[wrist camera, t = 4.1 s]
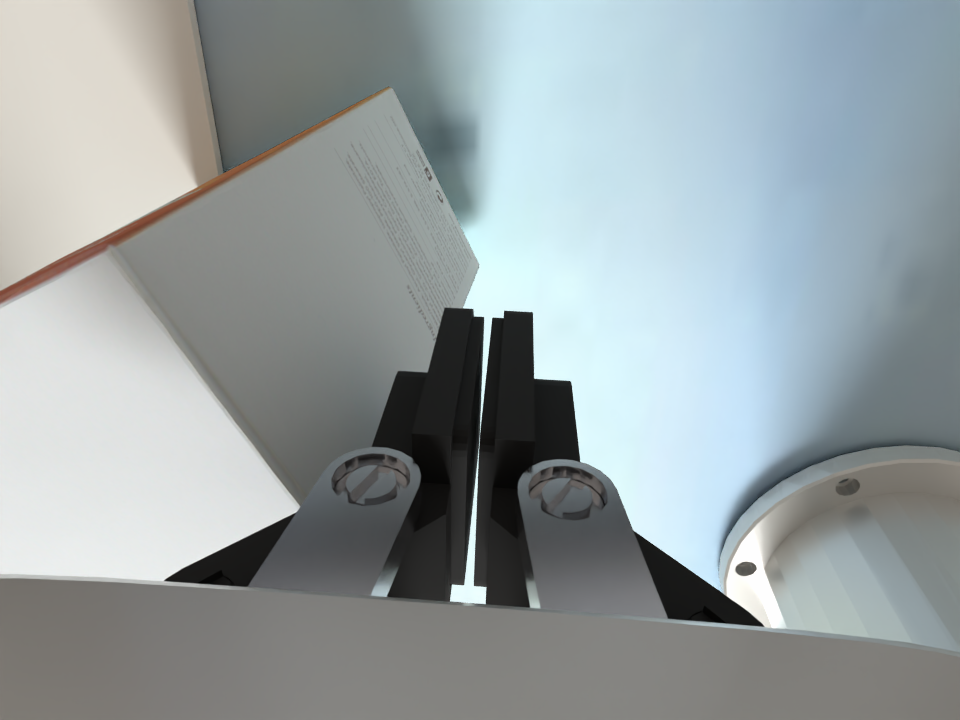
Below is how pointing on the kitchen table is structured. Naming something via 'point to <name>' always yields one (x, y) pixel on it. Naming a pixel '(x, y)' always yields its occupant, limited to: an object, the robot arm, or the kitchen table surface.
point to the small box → (221, 350)
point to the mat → (96, 121)
